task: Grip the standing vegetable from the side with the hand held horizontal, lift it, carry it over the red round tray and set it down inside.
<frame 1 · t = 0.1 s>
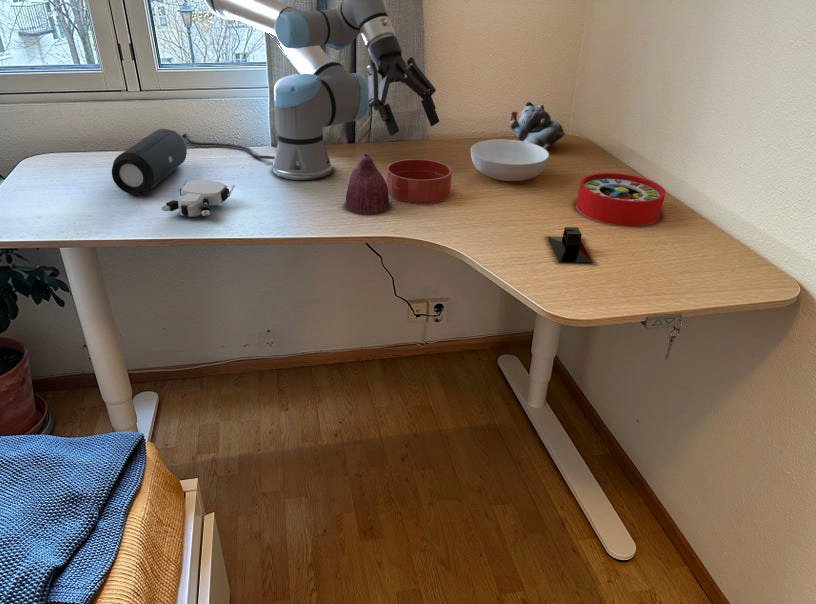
hand: (415, 128, 158), 15 cm above the table, tool tilted 35°, fingers open, 13 cm apart
serving bowl: (507, 176, 178), on the table
red round tray: (418, 192, 165), on the table
lucky cat figurine: (534, 147, 202), on the table
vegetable: (367, 207, 156), on the table
robot toy: (200, 209, 151), on the table
portable speaker: (155, 180, 165), on the table
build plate: (569, 251, 140), on the table
toy clock: (617, 210, 160), on the table
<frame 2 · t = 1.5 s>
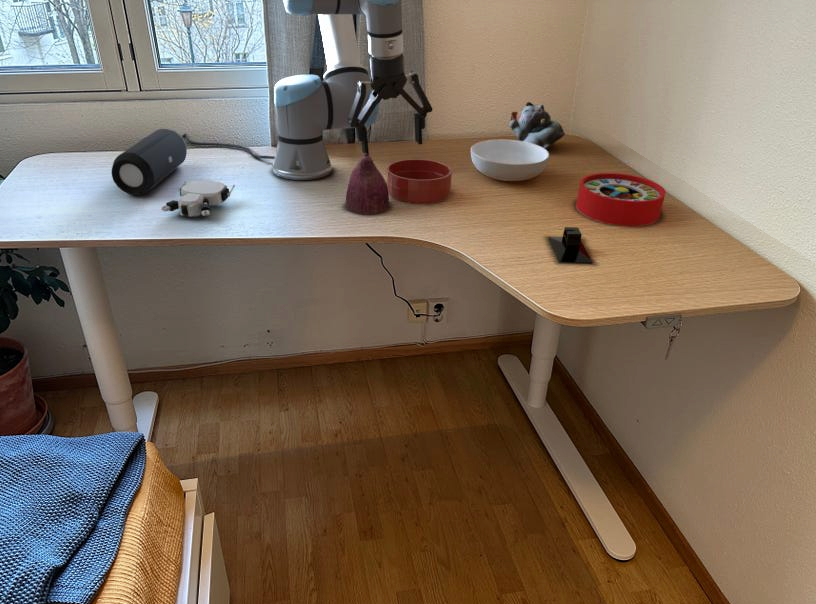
hand: (392, 147, 157), 11 cm above the table, tool pointing down, fingers open, 13 cm apart
nothing on the table moved.
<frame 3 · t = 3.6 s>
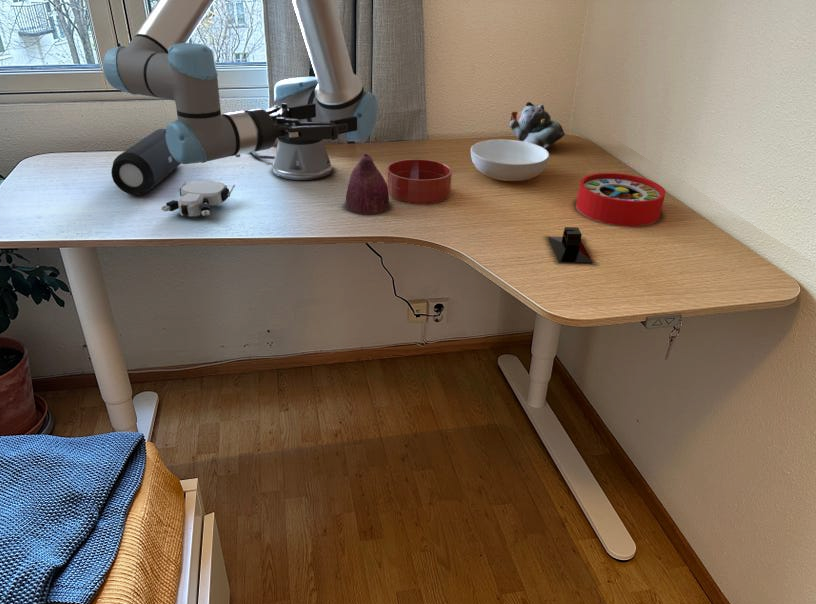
hand: (335, 116, 138), 22 cm above the table, tool horizontal, fingers open, 13 cm apart
nothing on the table moved.
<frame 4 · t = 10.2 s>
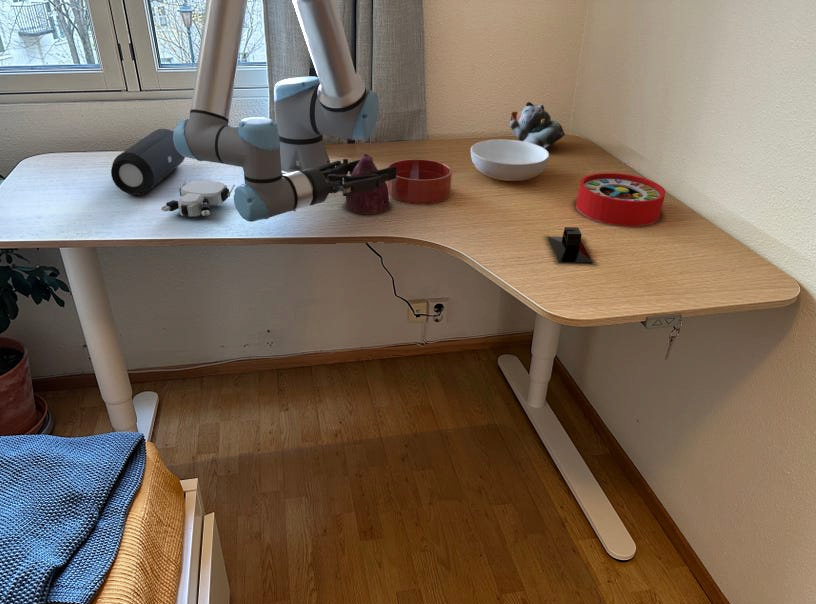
hand: (383, 167, 154), 8 cm above the table, tool horizontal, fingers closed on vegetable, 8 cm apart
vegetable: (367, 207, 156), on the table, touching gripper
everything else where it was.
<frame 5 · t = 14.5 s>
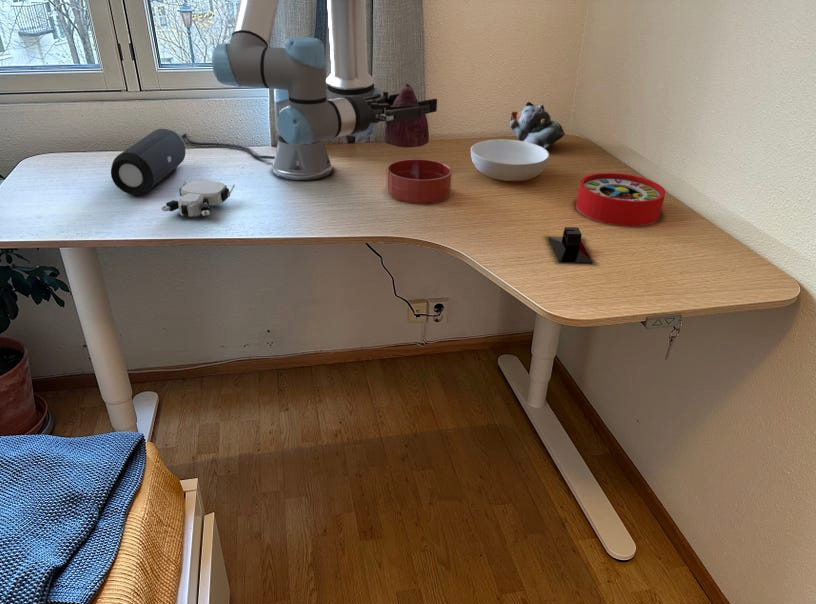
hand: (422, 101, 153), 22 cm above the table, tool horizontal, fingers closed on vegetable, 8 cm apart
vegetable: (406, 142, 155), point 13 cm above the table, touching gripper
everything else where it was.
when the fingers open (9 cm above the table, at t = 19.0 s): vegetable stays where it is, resting on red round tray.
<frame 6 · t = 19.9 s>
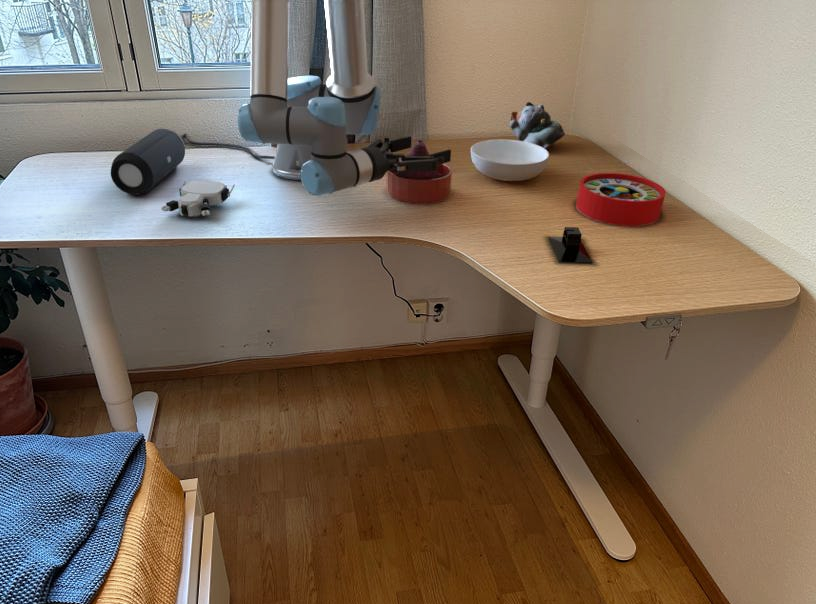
hand: (429, 148, 161), 10 cm above the table, tool horizontal, fingers open, 13 cm apart
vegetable: (418, 191, 165), resting on red round tray
everything else where it was.
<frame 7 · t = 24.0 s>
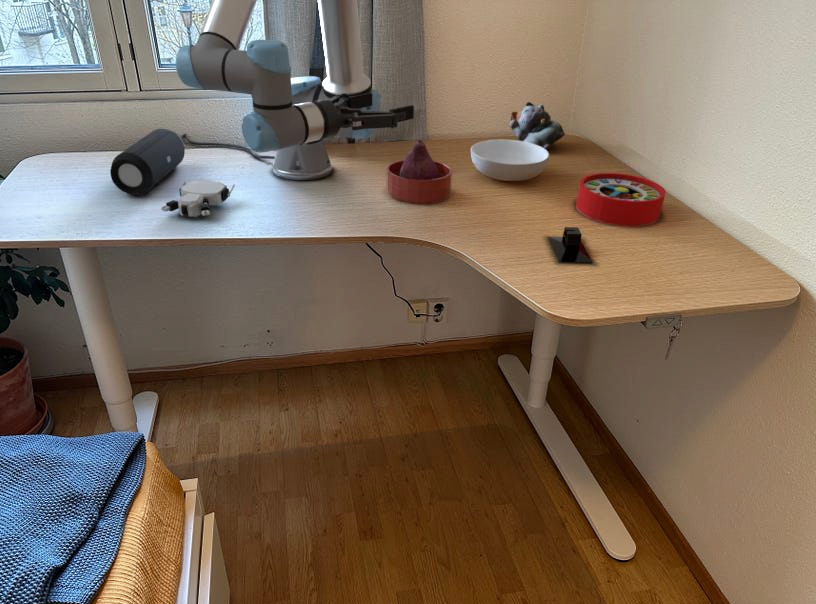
hand: (391, 105, 147), 22 cm above the table, tool horizontal, fingers open, 13 cm apart
nothing on the table moved.
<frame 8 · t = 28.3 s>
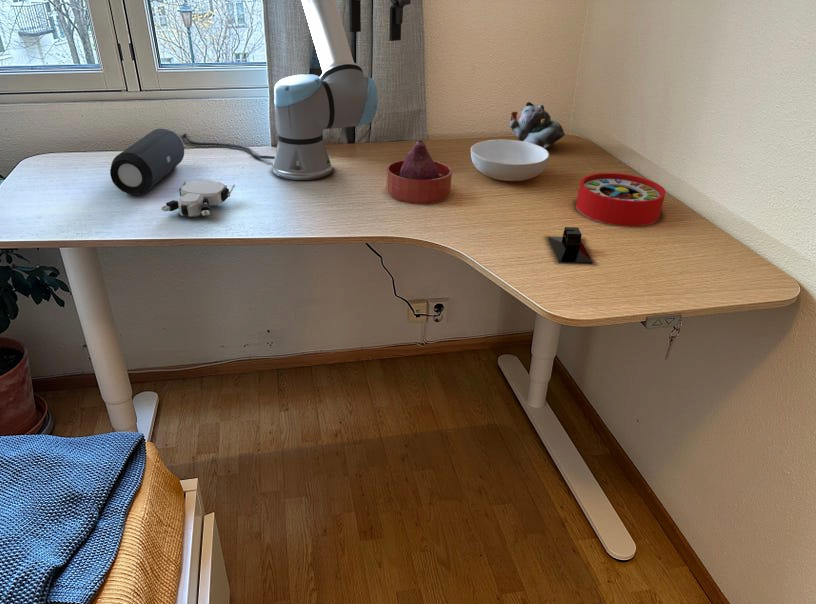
hand: (374, 36, 149), 35 cm above the table, tool pointing down, fingers open, 13 cm apart
nothing on the table moved.
at the end: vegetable inside the target area in the red round tray (0.1 cm from its centre), point 0.4 cm above the red round tray's base; the gripper is holding nothing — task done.
